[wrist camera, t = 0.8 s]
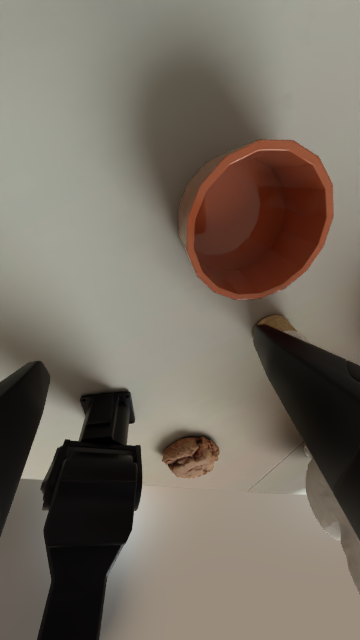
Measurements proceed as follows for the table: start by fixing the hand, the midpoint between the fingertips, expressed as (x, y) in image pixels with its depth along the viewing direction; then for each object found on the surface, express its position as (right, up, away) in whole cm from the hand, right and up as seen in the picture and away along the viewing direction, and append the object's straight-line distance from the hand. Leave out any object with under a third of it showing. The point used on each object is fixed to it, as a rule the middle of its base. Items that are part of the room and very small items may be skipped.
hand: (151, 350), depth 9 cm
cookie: (+3, -22, +31) cm, 38 cm away
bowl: (+6, +10, +11) cm, 16 cm away
